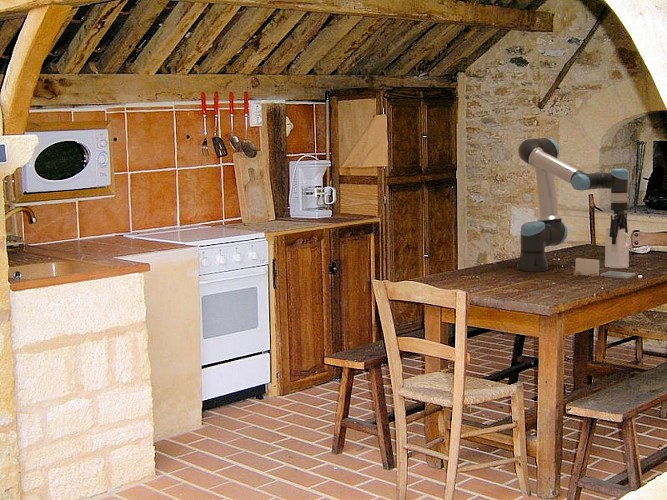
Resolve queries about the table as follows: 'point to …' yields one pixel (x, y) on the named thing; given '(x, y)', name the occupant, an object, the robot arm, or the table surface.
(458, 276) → the table surface
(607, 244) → the mug
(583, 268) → the beige block
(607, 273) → the plate
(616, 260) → the jar
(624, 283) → the table surface
